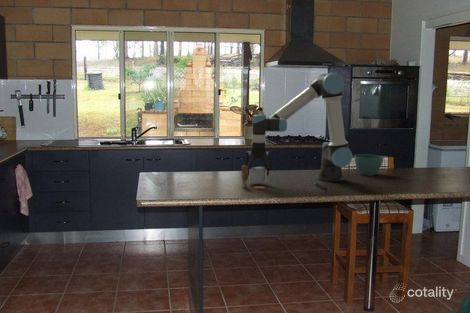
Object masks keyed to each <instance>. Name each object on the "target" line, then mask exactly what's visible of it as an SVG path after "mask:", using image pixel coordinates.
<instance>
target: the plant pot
mask: <svg viewBox="0 0 470 313" xmlns="http://www.w3.org/2000/svg"><path fill="white" fill-rule="evenodd" d="M353 159H354V163H355V167H356V169H357V170H358V172H359V173H360V175H362V176H366V175H367V177H368V176H370V177H372V175H373V176H375V175H376V174H377V173H378V172H379V171H380V169H381V167H382V165H383V161H384V156H382V155H376V154H365V153H364V154H362V153H360V154H354V158H353Z"/></svg>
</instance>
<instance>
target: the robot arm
mask: <svg viewBox="0 0 470 313" xmlns="http://www.w3.org/2000/svg"><path fill="white" fill-rule="evenodd" d="M344 87H345V81H344V79H343V77H342V76H341V75H340V74H338V73H334V72H330V73H322V74H320V75H319V76H318V77H316V78H314V80H313V81H312V82H310V83H309V84H308V85H307V88H306V89H304V90H303V91H301V92H300V93H299V94H298V95H296V96H295V97H294V98H293V99H291V100H289V101H288V102H287V103H286V104H285V105H283V106H282V107H280V108H279V109H278V110H276V112H274V113H273V114H271V115H270V116H268V117H267V115H266V114H254V115H253V117H252V136H251V138H252V142H251V150H250V151H249V150H247V151H246V158H245V161H244V165H243V166H248V182H250V173H251V168H252V164H253V163H254V161H255V159H262V162H263V164H264V168H265V182H264V183H266V182H267V181H268V180H267V179H268V176H270V174H269V172H270V170H272V169H273V166H272V159H271V151H266V137H267V136H266V133H267V132H273V133H274V132H276V133H277V132H279V133H282V132H283V133H284V132H286V131H287V129H288V121H287V120H288V119H290V118H292V116H294V115H295V114H296V113H298V112H299V111H300V110H302V109H303V108H304V107H305V106H307V105H308V104H309V103H310V102H312V101H313V100H315V99H318V98H320V97H321V98H322V99H323V101H324V102H325V110H326V117H327V126H328V134H329V142H327V141H326V142H323V143H322V147H321V167H320V170H319V172H318V174H317V175H318V176H317V179H318V180H319V181H323V182H343V180H344V174H343V171H342V168H345V167H347V166H349V165H350V163H351V162H352V160H353V152H352V151H351V149H350V147H349V141H347V139H346V136H345V134H346V133H345V127H344V119H343V110H342V101H341V99H342V98H343V89H344ZM250 155H252V158H251V160H250V162H249V157H250ZM265 155H266V156H267V160H268V164H267V160H265V157H264V156H265ZM248 162H249V164H248ZM268 165H269V166H268Z"/></svg>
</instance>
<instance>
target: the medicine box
mask: <svg viewBox="0 0 470 313" xmlns="http://www.w3.org/2000/svg"><path fill="white" fill-rule="evenodd" d="M250 169H251V173H250V181H249V182H250V183H251V184H255V185H256V184H261V183H266V182H265V170H266V167H265V166H255V167H250Z"/></svg>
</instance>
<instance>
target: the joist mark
mask: <svg viewBox="0 0 470 313" xmlns="http://www.w3.org/2000/svg"><path fill="white" fill-rule="evenodd" d="M253 189H266V188H265V186H258V185H257V186H255V185H254V186H253Z"/></svg>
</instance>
